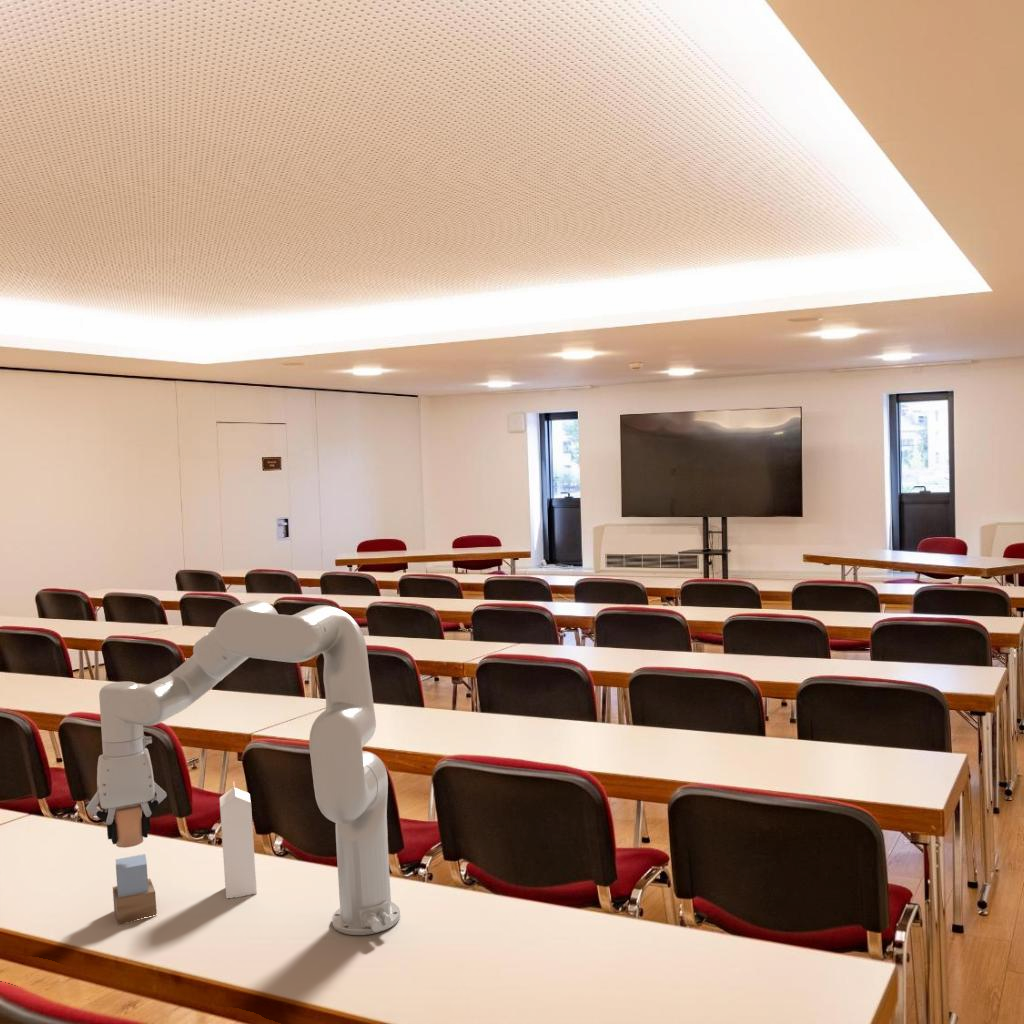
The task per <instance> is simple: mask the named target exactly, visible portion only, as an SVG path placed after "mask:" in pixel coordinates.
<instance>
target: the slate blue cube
mask: <svg viewBox="0 0 1024 1024" xmlns="http://www.w3.org/2000/svg"><path fill="white" fill-rule="evenodd" d="M147 865H148V864H147V857H146V854H145V853H144V854H138V855H133V856H128V857H127V856H126V857H122V858H115V872H116V886H117V890H118V898H120V897H125V896H130V895H135V894H140V893H145V892H149V891H148V879H149V878H148V866H147Z"/></svg>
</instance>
